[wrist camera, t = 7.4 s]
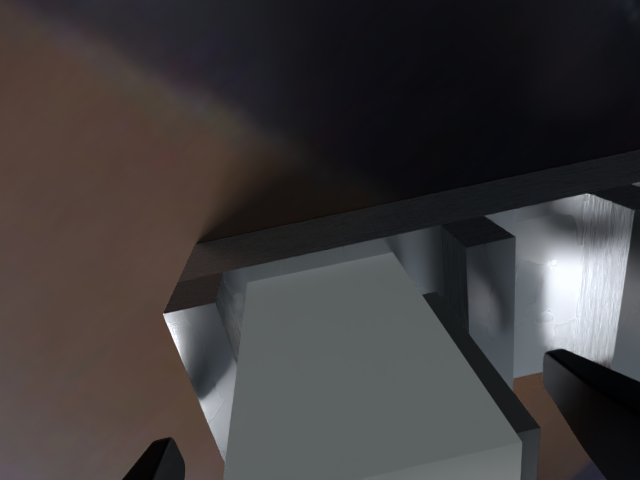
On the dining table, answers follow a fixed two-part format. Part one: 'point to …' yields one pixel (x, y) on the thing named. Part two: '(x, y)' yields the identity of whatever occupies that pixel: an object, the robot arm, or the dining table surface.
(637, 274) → the rail
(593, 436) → the robot arm
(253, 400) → the matte gray box
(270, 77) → the dining table surface
